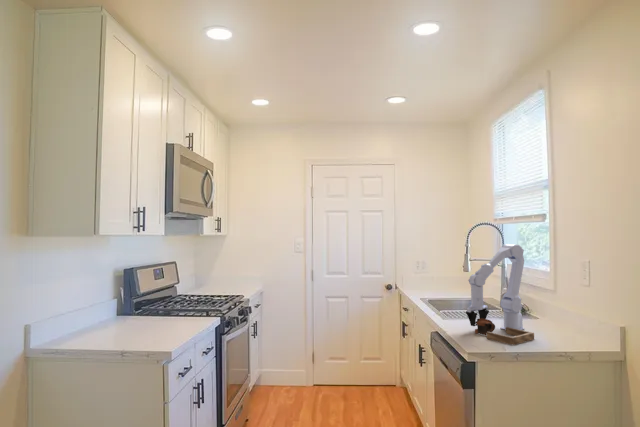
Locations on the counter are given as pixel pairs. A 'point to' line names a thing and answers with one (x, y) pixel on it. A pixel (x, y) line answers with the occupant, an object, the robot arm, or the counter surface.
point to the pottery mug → (484, 326)
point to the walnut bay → (518, 337)
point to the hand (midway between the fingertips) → (477, 324)
